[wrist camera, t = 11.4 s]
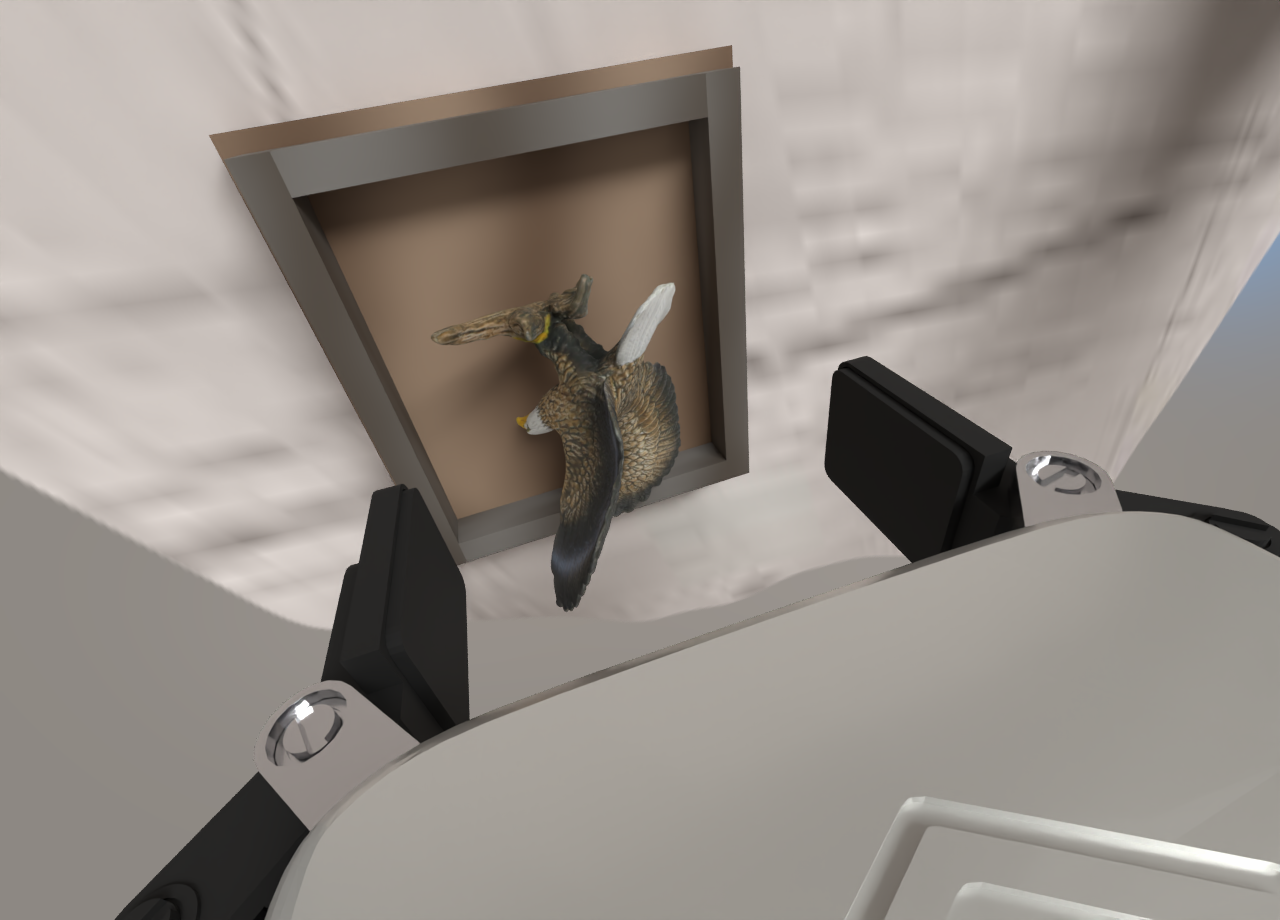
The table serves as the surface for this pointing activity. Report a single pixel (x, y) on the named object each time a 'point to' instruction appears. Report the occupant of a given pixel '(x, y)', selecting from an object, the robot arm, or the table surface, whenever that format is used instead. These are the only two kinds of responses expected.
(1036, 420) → the table surface
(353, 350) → the wooden tray
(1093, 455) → the table surface
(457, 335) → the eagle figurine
